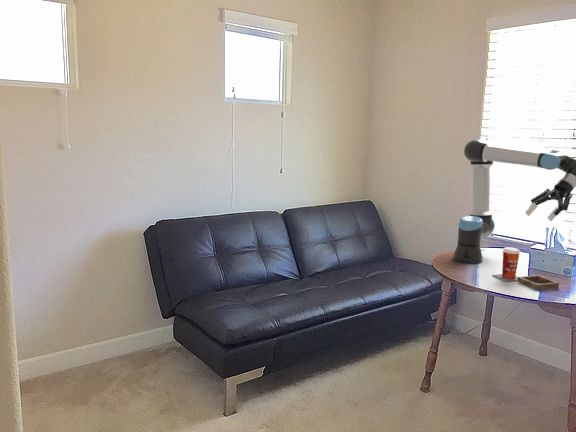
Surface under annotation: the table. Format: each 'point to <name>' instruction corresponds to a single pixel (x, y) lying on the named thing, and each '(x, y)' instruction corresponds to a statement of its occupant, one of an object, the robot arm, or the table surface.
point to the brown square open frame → (547, 282)
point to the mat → (505, 278)
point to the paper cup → (510, 262)
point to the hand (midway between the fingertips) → (537, 216)
